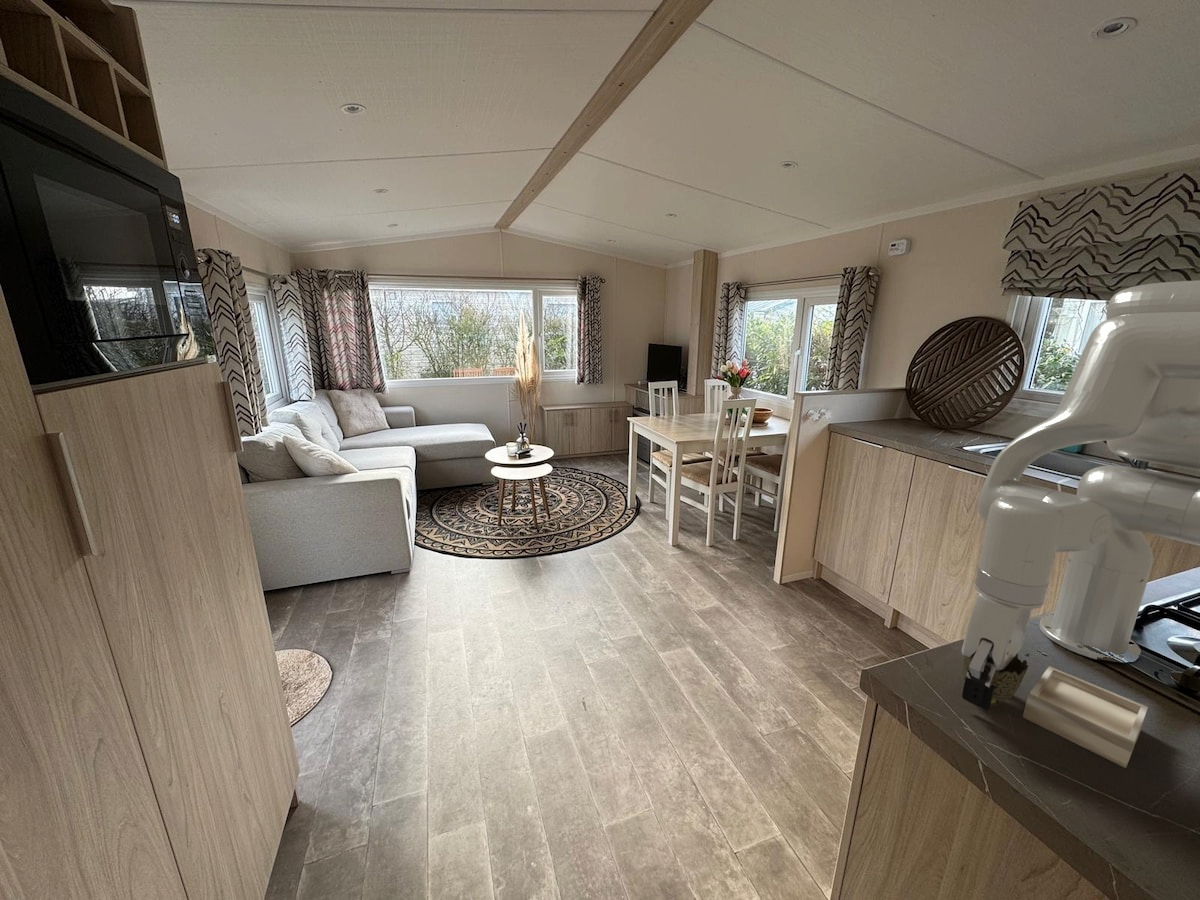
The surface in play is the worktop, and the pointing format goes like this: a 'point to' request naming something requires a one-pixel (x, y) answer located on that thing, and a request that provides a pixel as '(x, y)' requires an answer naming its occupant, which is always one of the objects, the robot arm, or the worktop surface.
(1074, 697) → the birch tray
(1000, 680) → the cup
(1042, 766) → the worktop surface
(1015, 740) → the worktop surface
